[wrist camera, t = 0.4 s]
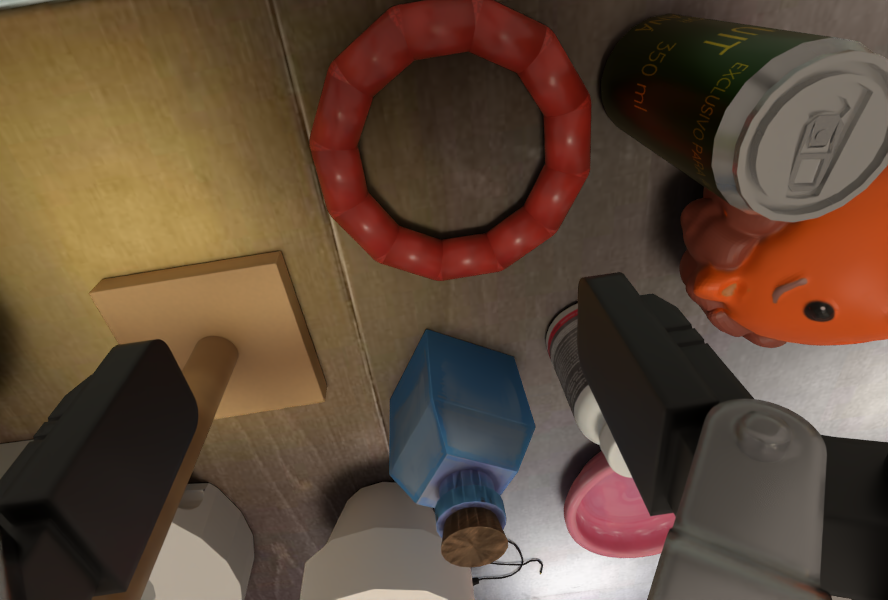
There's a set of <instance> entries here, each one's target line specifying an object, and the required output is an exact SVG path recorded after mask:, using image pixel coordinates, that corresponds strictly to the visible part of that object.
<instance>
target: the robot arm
mask: <svg viewBox="0 0 888 600" xmlns="http://www.w3.org/2000/svg"><path fill="white" fill-rule="evenodd" d="M577 349H578V356H579V361H580V365H581V369H582V372H583V374H584V376H585V378H586V381H587V383H588V385H589V387H590V389H591V391H592V393H593V395H594V398H595V400H596V402H597V404H598V406H599V408H600V410H601V412H602V414H603V417H604V419H605V421H606V423H607V425H608V427H609V429H610V431H611V434H612V436H613V438H614V440H615V442H616V444H617V446H618V448H619V451H620V453H621V455H622V457H623V459H624V461H625V463H626V465H627V468H628V470H629V472H630V474H631V476H632V478H633V480H634V482H635V484H636V487H637V489H638V491H639V493H640V495H641V497H642V499H643V501H644V504H645V506H646V508H647V510H648V512H649V514H650V516H656V515H663V514H669V513H674V515H675V517H676V518H675V521H674V525H673V527H672V528H670V529H669V532H668V534H667V537H666V540H665V543H664V546H663V549H662V553H661V556H660V559H659V562H658V566H657V569H656V572H655V576H654V579H653V582H652V585H651V589H650V592H649V595H648V599H647V600H832V598H831V595H832V596H838V597H843V598H849V599H852V600H888V442H878V441H869V440H859V439H849V438H839V437H831V436H824V435H820V434H819V432H818V431H817V430H816V429H815V428H814V427H813V426H812V425H811V424H810V423H809V422H808V421H807V420H805V419H804V418H802V417H801V416H799V415H798V414H796V413H794V412H793V411H791V410H789V409H787V408H784V407H782V406H780V405H777V404H774V403H770V402H766V401H762V400H755V399H754V398H753V397H752V396H751V395H750V393H749V392H748V391H747V390H746V389H745V387H744V386H743V385H742V384H741V383H740V381H739V380H738V379H737V378H736V377H735V376H734V374H733V373H732V372H731V371H730V370H729V368H728V367H727V366H726V365H725V364H724V363H723V361H722V360H721V359H720V358H719V357H718V355H717V354H716V353H715V352H714V351H713V350H712V348H711V347H710V346H709V345H708V344H707V343H706V344H705V343H704V339H703V338H702V336H701V335H700V334H699V333H698V332H697V331H696V329H695V328H693V329H692V325H691V323H690V322H689V321H688V320H687V319H686V318H685V316H684V315H683V314H682V313H681V312H680V310H679V309H678V308H677V307H676V306H674V305H672V304H670V303H669V302H667V301H665V300H663V299H662V298H660V297H658V296H656V295H654V294H647V295H639V294H638V292H637V291H636V290H635V288H634V287H633V286H632V285H631V283H630V282H629V281H628V279H627V278H626V277H625V275H624V274H623V273H621V272H618V273H611V274H604V275H597V276H591V277H584V278H581V279H580V281H579V286H578V320H577ZM197 425H198V406H197V402H196V399H195V397H194V395H193V393H192V391H191V389H190V387H189V385H188V383H187V381H186V379H185V377H184V375H183V373H182V371H181V369H180V367H179V365H178V363H177V361H176V359H175V358H174V356H173V354H172V352H171V350H170V348H169V346H168V345H167V344H166V343H165V342H164V341H163V340H160V339H154V340H147V341H140V342H133V343H127V344H120V345H116V346H115V347H113V348H112V349H111V351H110V352H109V353H108V355H107V356H106V357H105V359H104V360H103V361H102V363H101V364H100V365H99V367H98V368H97V369H96V371H95V372H94V373H93V375H90V376H89V377H88V378H87V379H85V380H84V381H83V382H82V383H80V384H79V385H78V386H77V387H75V388H74V389H73V390H72V391H70V392H69V393H68V394H67V395H65V397H64V398H63V399H62V400H61V402H60V403H59V404H58V406H57V407H56V408H55V409H54V411H53V412H52V413H51V415H50V416H49V417H48V422H45V423H44V424H43V425H42V426H41V427H40V429H39V430H38V431H37V433H36V434H35V435H34V436H33V437H34V441H30V442H29V443H28V444H27V445H26V447H25V448H24V449H23V451H22V452H21V453H20V455H19V456H18V457H17V458H16V460H15V461H14V462H13V464H12V465H11V466H10V467H9V469H8V470H7V471H6V473H5V474H4V475H3V476H2V478H1V479H0V600H91V599H92V597H95V596H102V595H108V594H115V593H122V592H126V591H127V589H128V586H129V584H130V582H131V579H132V577H133V575H134V573H135V570H136V568H137V566H138V563H139V561H140V559H141V556H142V554H143V552H144V549H145V547H146V545H147V542H148V540H149V538H150V536H151V533H152V531H153V529H154V526H155V524H156V522H157V519H158V517H159V515H160V512H161V510H162V508H163V505H164V503H165V501H166V499H167V496H168V494H169V492H170V489H171V487H172V485H173V482H174V480H175V478H176V475H177V473H178V471H179V468H180V466H181V464H182V462H183V459H184V457H185V455H186V452H187V450H188V448H189V445H190V443H191V441H192V438H193V436H194V434H195V431H196V429H197Z"/></svg>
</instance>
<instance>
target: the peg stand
mask: <svg viewBox="0 0 888 600" xmlns="http://www.w3.org/2000/svg"><path fill="white" fill-rule="evenodd" d="M89 295H90V297H91V298H92V300H93V302H94V303H95V305H96V307H97V308H98V310H99V312H100V313H101V315H102V317H103V318H104V320H105V322H106V323H107V325H108V327H109V328H110V330H111V332H112V333H113V335H114V337H115V339H116V340H117V342H118V344H119V345H120V344H127V343H133V342H140V341H147V340H154V339H160V340H163V341H164V342H165V343H166V344H167V345H168V346H169V348H170V350H171V352H172V354H173V356H174V358H175V359H176V361H177V363H178V365H179V367H180V369H181V371H182V373H183V375H184V377H185V379H186V381H187V383H188V385H189V387H190V389H191V391H192V393H193V395H194V397H195V399H196V402H197V406H198V425H197V429H196V431H195V434H194V436H193V438H192V441H191V443H190V445H189V448H188V450H187V452H186V455H185V457H184V459H183V462H182V464H181V466H180V468H179V471H178V473H177V475H176V478H175V480H174V482H173V485H172V487H171V489H170V492H169V494H168V496H167V499H166V501H165V503H164V505H163V508H162V510H161V512H160V515H159V517H158V519H157V522H156V524H155V526H154V529H153V531H152V533H151V536H150V538H149V540H148V542H147V545H146V547H145V549H144V552H143V554H142V556H141V559H140V561H139V563H138V566H137V568H136V570H135V573H134V575H133V577H132V579H131V582H130V584H129V586H128V589H127V591H126V592H122V593H115V594H108V595H102V596H95V597H92V599H91V600H141V597H142V595H143V592H144V590H145V587H146V585H147V583H148V580H149V578H150V575H151V573H152V570H153V568H154V565H155V563H156V560H157V558H158V555H159V553H160V550H161V548H162V545H163V543H164V541H165V538H166V536H167V533H168V531H169V528H170V526H171V523H172V521H173V518H174V516H175V513H176V511H177V508H178V506H179V503H180V501H181V498H182V496H183V494H184V491H185V489H186V486H187V484H188V481H189V479H190V476H191V474H192V471H193V469H194V466H195V464H196V461H197V459H198V456H199V454H200V452H201V449H202V447H203V444H204V442H205V439H206V437H207V434H208V432H209V429H210V427H211V424H212V422H213V420H214V419H220V418H226V417H233V416H239V415H245V414H252V413H258V412H264V411H271V410H277V409H283V408H289V407H296V406H302V405H308V404H315V403H321V402H325V397H326V390H327V384H326V381H325V378H324V375H323V373H322V370H321V367H320V364H319V361H318V358H317V355H316V352H315V349H314V346H313V343H312V340H311V337H310V335H309V332H308V329H307V326H306V323H305V320H304V317H303V314H302V311H301V308H300V305H299V302H298V300H297V297H296V294H295V291H294V288H293V285H292V282H291V279H290V276H289V273H288V270H287V267H286V264H285V262H284V259H283V256H282V253H281V251H277V252H271V253H264V254H258V255H252V256H246V257H239V258H233V259H227V260H221V261H214V262H208V263H202V264H196V265H189V266H183V267H177V268H171V269H164V270H158V271H152V272H146V273H139V274H133V275H127V276H121V277H114V278H108V279H102V280H101V281H100V282H99V283H98V284H97V285H96V286H95V287H94V288H93V289H92V290H91V291H90V292H89Z"/></svg>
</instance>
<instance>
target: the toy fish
mask: <svg viewBox="0 0 888 600" xmlns="http://www.w3.org/2000/svg"><path fill="white" fill-rule="evenodd" d="M680 220H681V227H682V230H683V239H684V242H685V244H686V247H687V250H686V251H685V253H684V254H683V256H682V258H681V261H680V275H681V279H682V281H683V283H684V284H685V285H686V292H687V293H688V295H689V296H690V298H691V299H692V300H693V301H695V302H696V303H697V304H698V305H699V306H700V307H701V309H702V310H703V311H704V313H705V314H706V316H707V318H708V319H709V320H710V322H711V323H712V324H713V325H714V326H715V327H717V328H718V329H719V330H720V331H723V332H725V333H727V334H729V335H732V336H735V337H740V336H743V337H744V338H746V339H747V340H749V341H751V342H752V343H754V344H756V345H759V346H761V347H767V348H774V347H779V346H782V345H784V344H785V343H786V342H792V343H799V344H807V345H845V344H857V343H864V342H869V341H876V340H884V339H888V165H887V167H886V168H885V169H884V170H883V171H882V172H881V173H880V174H879V175H878V177H877V178H876V179H875V180H874V181H873V182H872V183H871V184H870V185H869V186H868V187H867V189H865V190H864V191H863V192H861V193H860V194H859V195H857V196H856V197H855V198H853V199H852V200H850V201H849V202H848V203H846V204H845V205H844V206H842V207H840V208H838V209H836V210H833V211H831V212H829V213H827V214H825V215H822V216H820V217H818V218H814V219H809V220H803V221H798V222H784V221H775V220H770V219H768V218H766V217H765V216H760V215H751V214H747V213H745V212H743V211H742V210H740V209H738V208H736V207H734V206H732V205H730V204H729V203H727V202H726V201H724V200H723V199H721V198H720V197H718V196H717V195H716V194H714V193H713V192H711V191H710V190H708V189H707V188H705V187H704V190H703V198H702V199H697V200H694V201H692V202H691V203H689V204H688V205H687V206H686V207H685V208H684V210H683V212H682V214H681V218H680Z"/></svg>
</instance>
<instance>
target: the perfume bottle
mask: <svg viewBox="0 0 888 600" xmlns="http://www.w3.org/2000/svg"><path fill="white" fill-rule="evenodd" d="M535 427H536V426H535V423H534V420H533V417H532V414H531V410H530V407H529V404H528V401H527V398H526V394H525V391H524V388H523V385H522V381H521V378H520V375H519V372H518V369H517V365H516V362H515V359H514V357H513V356H510V355H506V354H503V353H500V352H497V351H494V350H491V349H488V348H484V347H481V346H478V345H475V344H472V343H469V342H465V341H462V340H459V339H456V338H453V337H450V336H447V335H443V334H440V333H437V332H434V331H431V330H428V329H426V330H425V332H424V334H423V336H422V338H421V340H420V342H419V344H418V346H417V348H416V350H415V352H414V354H413V356H412V358H411V360H410V362H409V364H408V366H407V368H406V369H405V371H404V373H403V375H402V377H401V379H400V381H399V383H398V385H397V387H396V389H395V391H394V393H393V395H392V397H391V399H390V453H389V475H390V476H391V477H392V478H393V479H394V480H395V482H396V483H397V484H398V485H399V486H400V487H401V488H402V489H403V490H404V491H405V492H406V494H407V495H408V496H409V497H410V498H411V499H412V500H413V501H414V502H415V503H416V504H418V505H422V506H427V507H432V508H435V517H436V529H437V533H438V534H439V536H440V537H441V538H442V544H441V554H442V556H443V557H444V559H445V560H446V561H448V562H449V563H451V564H453V565H456V566H460V567H479V566H483V565H486V564H490V563H492V562H494V561H496V560H497V559H499V558H500V557H501V556H502V555H503V554H504V553H505V551H506V550H507V548H508V540H507V538H506V536H505V533H504V531H503V529H504V527H505V525H506V514H505V509H504V504H503V500H502V498H501V496H500V495H501V494H502V493H503V491H504V490H505V489H506V487H507V486H508V484H509V483H510V482H511V480H512V479H513V478H514V476H515V475H516V474H517V472H518V470H519V468H520V465H521V462H522V460H523V457H524V455H525V452H526V450H527V447H528V445H529V442H530V440H531V437H532V435H533V432H534V430H535Z"/></svg>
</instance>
